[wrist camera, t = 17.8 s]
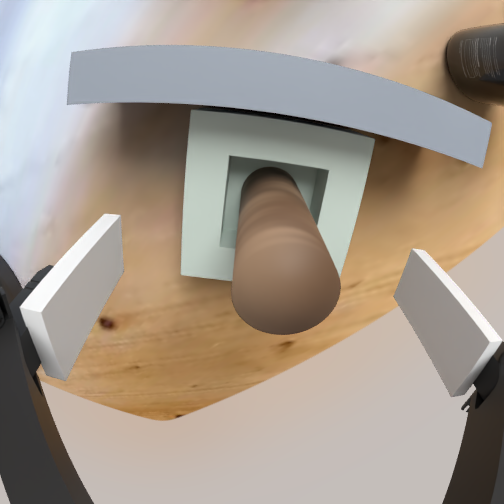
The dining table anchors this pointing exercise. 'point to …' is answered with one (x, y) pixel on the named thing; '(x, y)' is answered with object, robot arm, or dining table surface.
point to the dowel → (280, 258)
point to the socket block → (258, 156)
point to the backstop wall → (277, 92)
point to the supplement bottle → (478, 63)
